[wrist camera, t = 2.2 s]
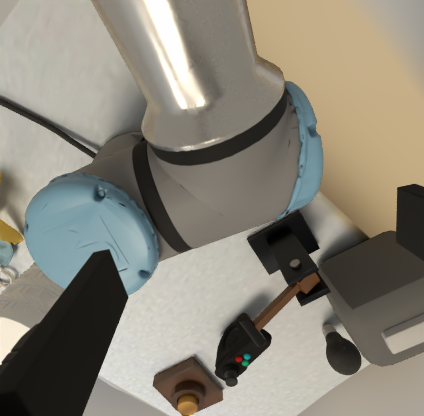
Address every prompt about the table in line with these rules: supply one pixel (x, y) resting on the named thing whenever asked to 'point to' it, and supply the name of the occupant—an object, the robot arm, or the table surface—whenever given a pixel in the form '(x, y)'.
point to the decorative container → (25, 306)
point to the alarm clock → (379, 298)
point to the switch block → (188, 384)
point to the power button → (187, 404)
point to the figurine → (9, 232)
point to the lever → (275, 308)
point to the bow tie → (5, 253)
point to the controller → (237, 353)
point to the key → (9, 275)
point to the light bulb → (341, 352)
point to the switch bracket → (290, 253)
